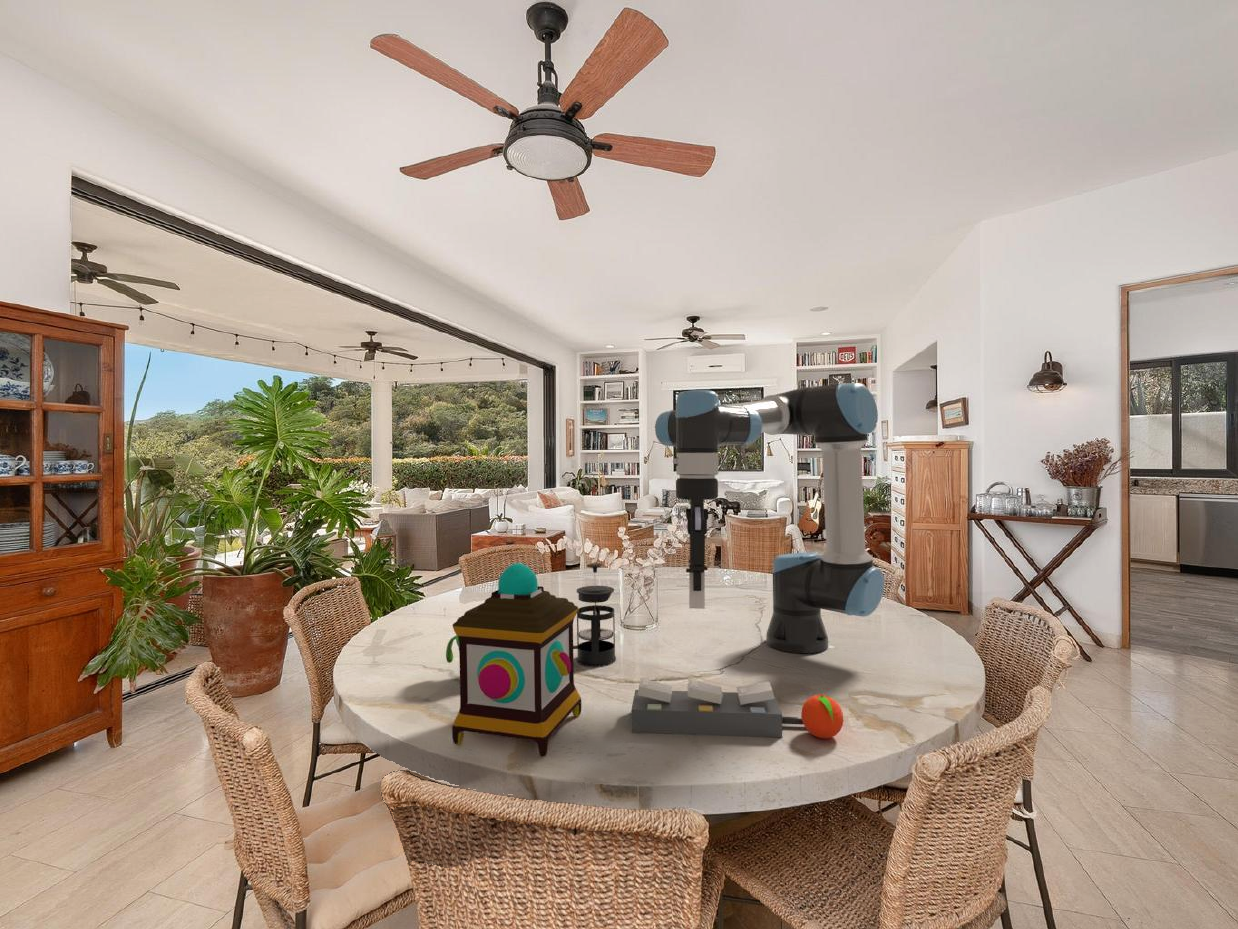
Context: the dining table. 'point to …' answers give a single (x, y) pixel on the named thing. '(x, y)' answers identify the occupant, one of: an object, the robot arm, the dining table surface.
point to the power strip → (708, 716)
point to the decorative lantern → (516, 662)
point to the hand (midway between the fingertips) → (696, 607)
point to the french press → (595, 625)
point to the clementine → (822, 716)
